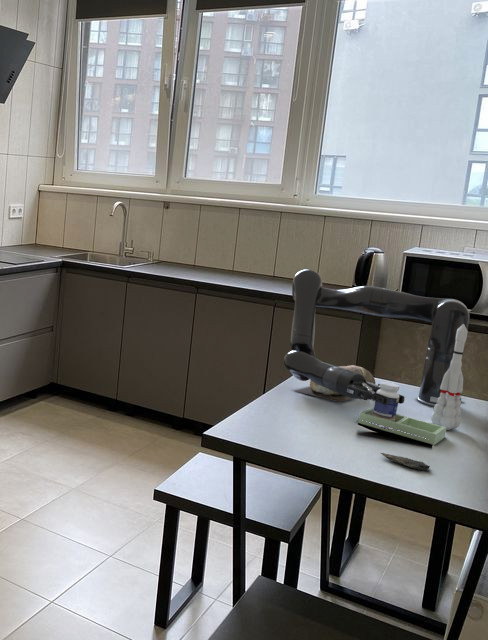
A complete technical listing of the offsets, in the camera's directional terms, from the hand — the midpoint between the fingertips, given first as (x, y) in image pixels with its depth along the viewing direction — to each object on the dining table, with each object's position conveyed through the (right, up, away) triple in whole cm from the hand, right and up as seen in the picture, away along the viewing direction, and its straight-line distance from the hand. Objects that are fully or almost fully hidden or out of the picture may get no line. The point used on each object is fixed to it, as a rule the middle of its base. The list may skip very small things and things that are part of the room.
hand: (395, 400), depth 203 cm
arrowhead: (-13, -11, -26) cm, 31 cm away
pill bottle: (-2, -6, +3) cm, 7 cm away
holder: (+2, -8, 0) cm, 8 cm away
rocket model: (+17, -9, +6) cm, 20 cm away
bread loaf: (+2, -3, +36) cm, 36 cm away
